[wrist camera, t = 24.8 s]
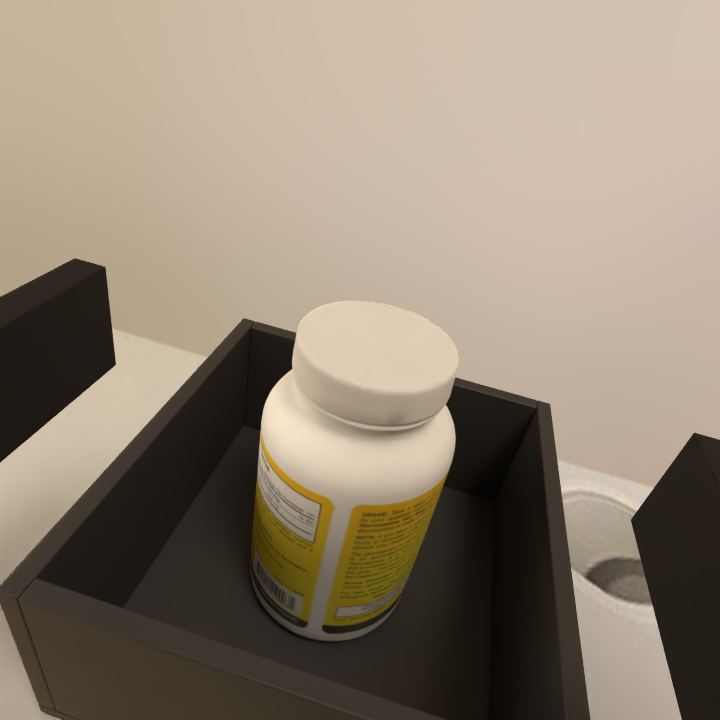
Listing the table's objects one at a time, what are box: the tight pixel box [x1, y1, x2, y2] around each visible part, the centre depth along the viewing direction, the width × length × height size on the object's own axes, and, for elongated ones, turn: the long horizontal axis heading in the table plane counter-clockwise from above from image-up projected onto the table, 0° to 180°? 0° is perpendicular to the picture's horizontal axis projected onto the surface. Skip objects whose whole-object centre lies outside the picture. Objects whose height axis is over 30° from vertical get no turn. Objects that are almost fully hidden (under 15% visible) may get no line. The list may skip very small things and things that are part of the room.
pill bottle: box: [250, 301, 459, 642], centre depth 18 cm, size 6×6×11 cm
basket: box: [0, 319, 590, 720], centre depth 19 cm, size 14×14×6 cm
